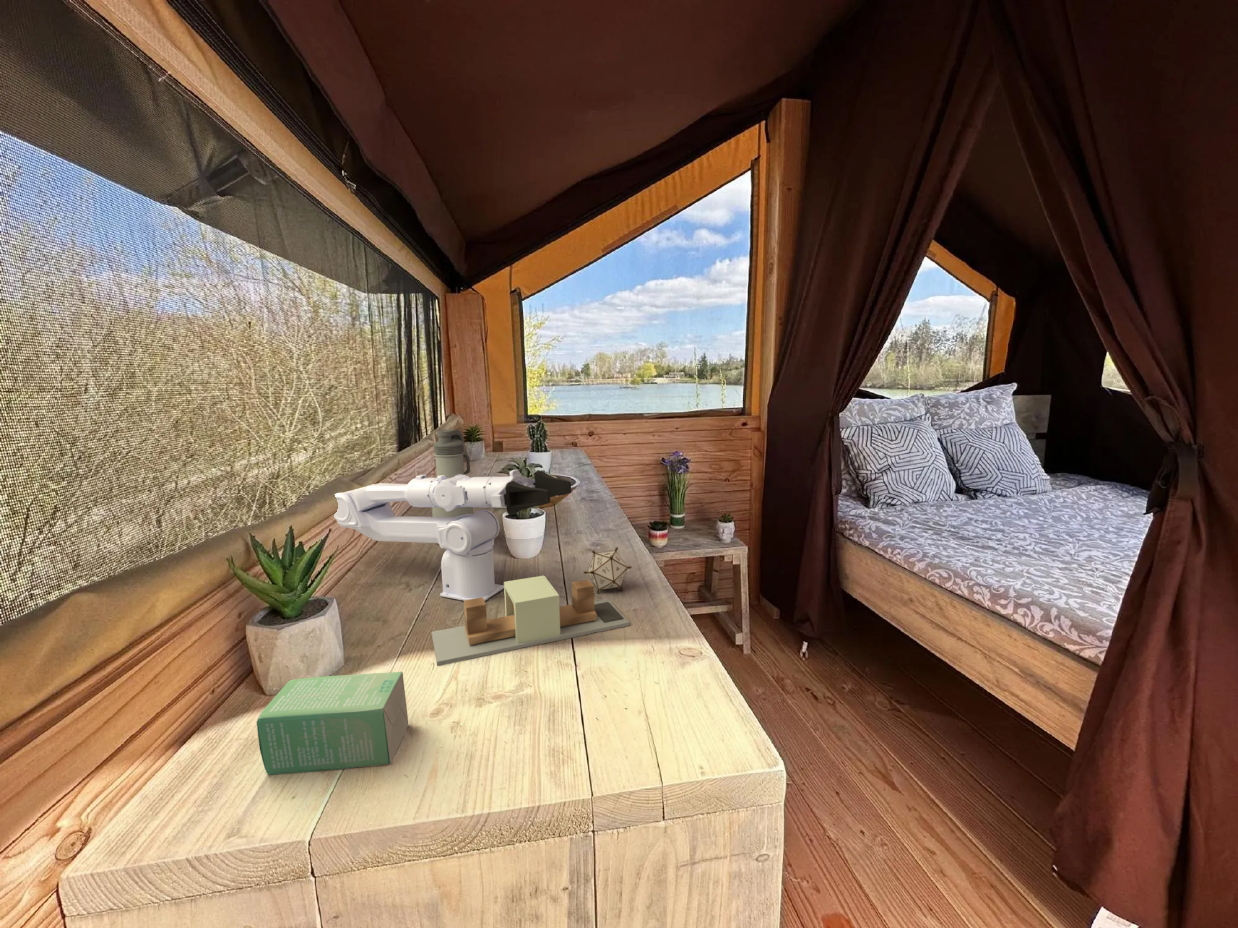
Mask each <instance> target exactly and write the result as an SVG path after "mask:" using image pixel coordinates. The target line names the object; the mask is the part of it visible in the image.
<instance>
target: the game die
mask: <svg viewBox="0 0 1238 928" xmlns="http://www.w3.org/2000/svg"><path fill="white" fill-rule="evenodd" d="M618 550H619V548H618V546H617V547H615V549H614V550H610V551H600V552H596V551H595V550H594V549H591V552H592V554H593V555H592V559H591V561H590V564H589V566H588V569H587V570H585V571H583V574H585V575H586V574H588V576H589V577H590V579H591V580H592V582H593V585H594V586H595V587H596V589H597V590H596V594H600V591H602V590H609V589H617V588H619V590H621V591H624V589H623V586H622V583H623V581H624V579H625V576H626V573H627V571H628V570H629V569H630V570H631V569H632V568H633V567H632V566H631V565H628V566H627V564H626V562H625V561H624V560H623V559H622V557H621V556H620V554H619V552H618Z"/></svg>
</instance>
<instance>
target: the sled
mask: <svg viewBox="0 0 1238 928" xmlns="http://www.w3.org/2000/svg"><path fill="white" fill-rule="evenodd" d="M594 602H595V584H594V583H592V582H591V581H590V580H589V579H584V580H578V581H572V582H571V604H566V605H561V606H560V605H559V608H560V627H563V626H568V625H573V624H578V623H583V622H588V621H593V620H597V613H596V612H595V610H594ZM513 606H514V604H513ZM463 611H464V626H465V632H466V636H467V639H468V643H469V645H473V644H478V643H483V642H488V641H493V640H498V639H503V638H508V637H513V636H516V635H515V613H514V615H511V616H506V615H505V616H501V617H496V618H495V617H494V618H490V619H488V616H487V615H488V614H487V604H486V600H485V601H484V599H483V597H481V598H475V599H469V600H463Z"/></svg>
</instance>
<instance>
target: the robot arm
mask: <svg viewBox="0 0 1238 928" xmlns="http://www.w3.org/2000/svg"><path fill="white" fill-rule="evenodd" d="M533 477H534V478H530V477H526V476H523V475H520V472H519V469H513V470H510V471H509V476H506V475H505V476H472V477H470V476H468V475H467V474H464V475H462V474H459V475H456V476H455V477H452V478H446V476H445V475H440V476H438V477H437V476H436V477H427V475H426V474H419V475H416V476H415V478H412V479H410V481H409V482H408V483H407V484H406V483H385V482H379V483H375V484H374V483H373V484H368V485H366V486H364V487H359V488H356V489H352V490H348V491H344V492H341V491H340V492H337V493H334V495H335V497H336V499H337V502H338V509H337V512H336V513H335V514H334V516H333V517H334V519H335V521H336V522H337V523H338V525H339V526H340V527H341V528H347V529H353V530H355V531H357V532H358V533H360V534H362V535H363V536H366V537H368V538H369V539H370V540H373V541H378V542H397V543H398V542H399V543H400V542H401V543H425V544H437V543H439V544H438V545H439V547H440V548H441V549H446V550H445V551H444V553H443V555H442V557H441V562H440V568H441V581H442V582H441V583H442V592H440V594H439V596H440V597H443V598H448V599H449V598H450V599H454V600H459V601H464V600H469V599H475V598H481V597H483V599H484V601H485V602H486V601H487V600H489V599H490V598H492V597H493V596H494V595H496V594H497V593H499V592H501V591H502V590H504V584H497V583H495V581H496V580H495V566H494V548H493V547H494V545H495V539H496V538H497V537H498V535H499V534H500V533H499V532H500V530H501V529H500V521H499V519H498V517H497V515H496V514H494V513H493V512H492V511H490V510H488V509H492V508H493V509H499V508H500V509H506V513H507V514H508V515H510V516H512V515H515V514H517V513H519V512H520V511H523V510H525V509H530V508H534V507H539V506H540V507H541V506H544V505H548V504H550V503H551V498H552V497H557V496H560V497H561V496H564V495H568V494H571V493H572V483H571V481H570V480H566V479H563V478H562V479H561V478H558V477H555V476H551V475H549V474H548V473H546V472H545V471H542V470H539V471H535V472H534V473H533ZM391 502H392V503H393V502H408V504H409V505H410V506H411V507H413V508H432V507H442V508H443V509H445V510H446V511H447V512H448V511H452V510H454V509H455V508H457V507H473V509H474V508H477V509H479V508H480V510H477V511H475V512H473V514H465V515H460V516H454V517H433V516H422V515H421V516H415V515H413V516H411V515H410V516H409V515H407V516H406V515H404V516H403V515H401V516H400V515H395V512H394V510H393V508H392V505H391ZM481 508H482V509H481ZM483 508H484V509H483ZM485 508H486V509H485Z"/></svg>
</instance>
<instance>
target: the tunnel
mask: <svg viewBox="0 0 1238 928" xmlns="http://www.w3.org/2000/svg"><path fill="white" fill-rule="evenodd" d="M503 585H504V588H503V591H504V593H503V594H504V611H505V612H504V613H505V617H506V616H511V615H514V613H515V635H516V642H517V644H518V643H523V642H528V641H533V640H538V639H543V638H548V637H553V636H558V635H560V608H559V607H560V594H559V593H558V592H557V591H556V589H555V588H554V587H553V585H552V584H551V583H550V581H549V580H548V579H547V577H546V576H545V575H539V576H533V577H532V576H531V577H525V578H520V579H514V580H508V581H503ZM513 604H514V606H513Z"/></svg>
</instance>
